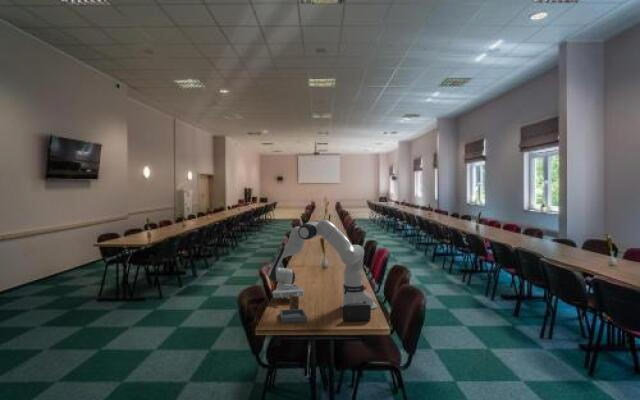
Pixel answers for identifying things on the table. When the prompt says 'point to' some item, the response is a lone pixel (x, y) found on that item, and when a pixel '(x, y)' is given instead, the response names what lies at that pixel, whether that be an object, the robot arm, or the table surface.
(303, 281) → the table surface
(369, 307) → the blue scroll wheel mouse
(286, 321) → the tray
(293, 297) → the walnut block
